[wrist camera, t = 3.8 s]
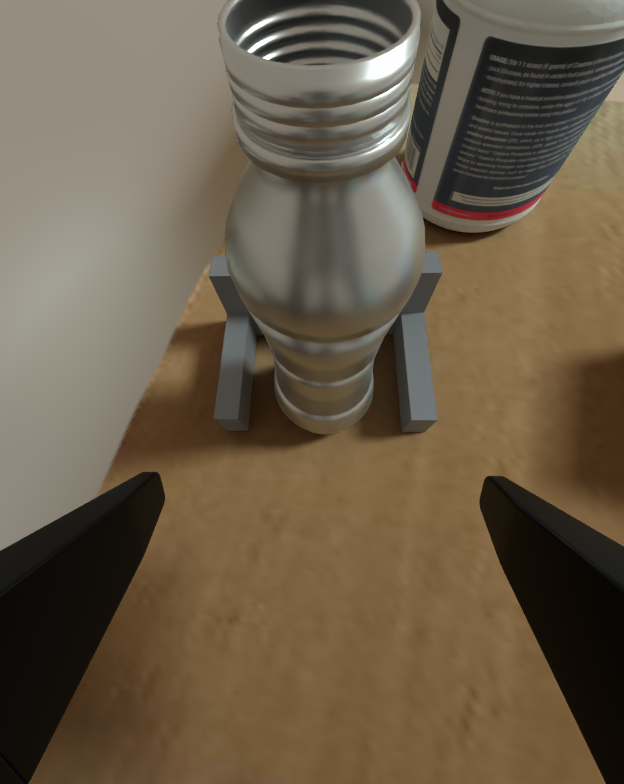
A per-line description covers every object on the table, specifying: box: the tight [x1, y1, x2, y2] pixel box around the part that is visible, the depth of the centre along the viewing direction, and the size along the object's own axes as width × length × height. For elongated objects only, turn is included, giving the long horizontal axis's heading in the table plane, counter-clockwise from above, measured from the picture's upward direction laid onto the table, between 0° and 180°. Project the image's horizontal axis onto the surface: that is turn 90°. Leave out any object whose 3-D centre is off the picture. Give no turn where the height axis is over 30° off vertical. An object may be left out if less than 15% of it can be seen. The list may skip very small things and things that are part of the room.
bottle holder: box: [209, 252, 442, 432], centre depth 22 cm, size 10×14×7 cm
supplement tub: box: [401, 0, 624, 233], centre depth 23 cm, size 13×13×18 cm
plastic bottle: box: [217, 0, 425, 434], centre depth 15 cm, size 6×7×20 cm
